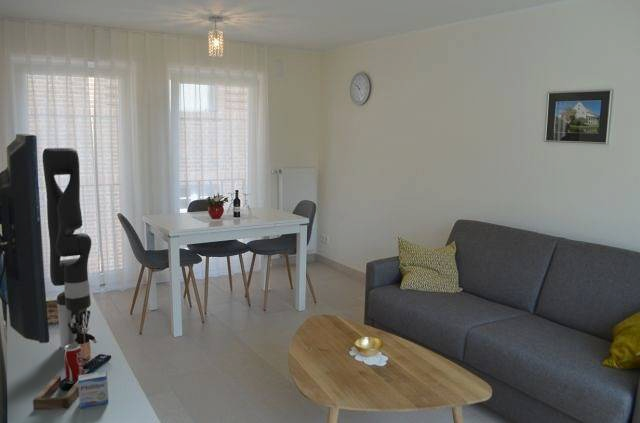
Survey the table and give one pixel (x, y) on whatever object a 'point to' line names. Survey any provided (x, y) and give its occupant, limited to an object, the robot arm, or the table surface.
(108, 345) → the table surface
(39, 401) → the u rest
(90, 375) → the medicine box
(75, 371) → the soda can
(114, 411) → the table surface
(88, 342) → the grandmother figurine
